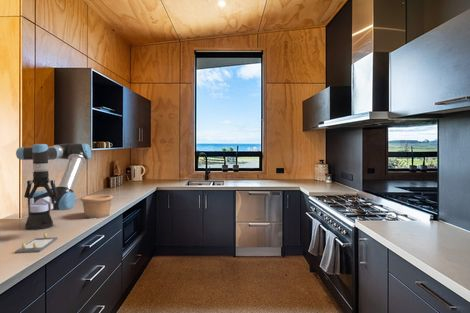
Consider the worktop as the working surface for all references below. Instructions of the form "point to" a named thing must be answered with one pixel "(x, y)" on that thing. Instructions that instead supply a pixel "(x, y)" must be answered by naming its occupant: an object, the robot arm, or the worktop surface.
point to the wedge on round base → (40, 205)
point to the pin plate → (36, 244)
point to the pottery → (96, 205)
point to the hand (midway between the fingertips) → (41, 209)
